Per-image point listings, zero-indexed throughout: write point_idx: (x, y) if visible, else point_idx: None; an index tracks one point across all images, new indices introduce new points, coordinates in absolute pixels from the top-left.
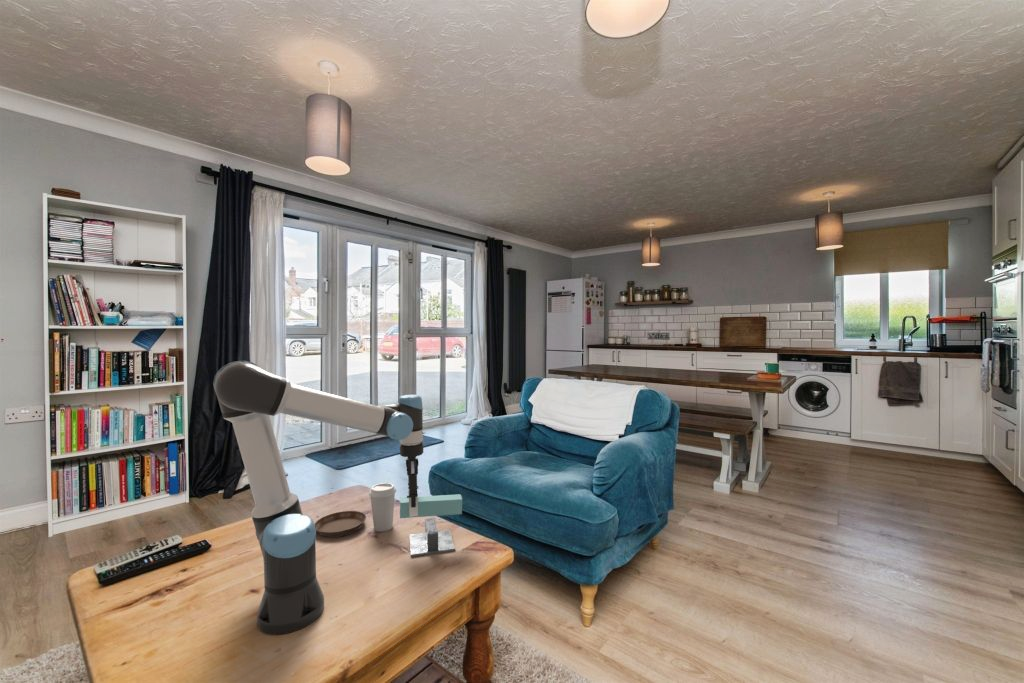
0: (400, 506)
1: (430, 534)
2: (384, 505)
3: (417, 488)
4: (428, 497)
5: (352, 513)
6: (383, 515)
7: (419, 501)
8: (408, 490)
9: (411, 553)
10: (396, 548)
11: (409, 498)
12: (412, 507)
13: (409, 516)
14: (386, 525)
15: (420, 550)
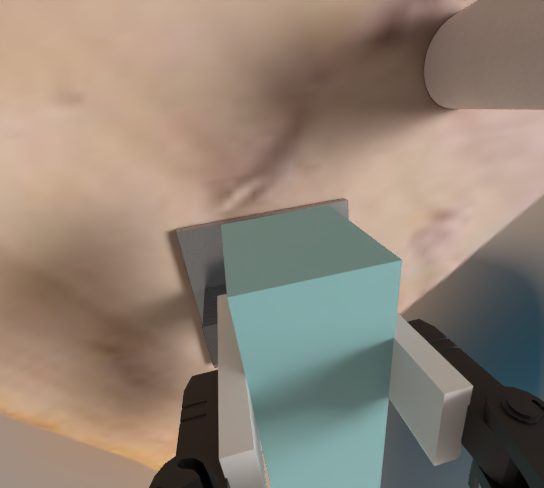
0: (225, 273)
1: (206, 338)
2: None
3: (470, 474)
4: (352, 468)
5: None
6: (487, 50)
7: (267, 443)
8: (471, 387)
9: (186, 233)
10: (255, 158)
11: (219, 443)
12: (194, 384)
13: (218, 298)
14: (442, 80)
15: (209, 263)
